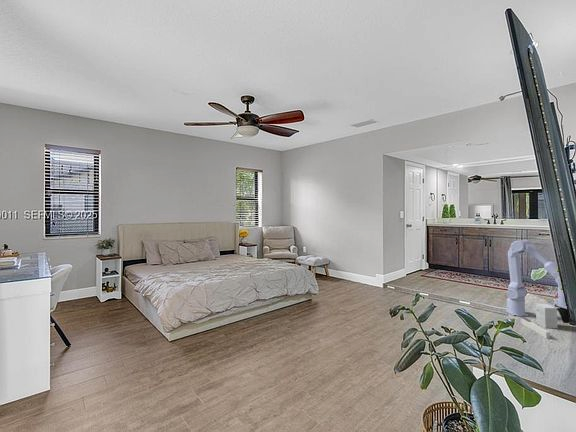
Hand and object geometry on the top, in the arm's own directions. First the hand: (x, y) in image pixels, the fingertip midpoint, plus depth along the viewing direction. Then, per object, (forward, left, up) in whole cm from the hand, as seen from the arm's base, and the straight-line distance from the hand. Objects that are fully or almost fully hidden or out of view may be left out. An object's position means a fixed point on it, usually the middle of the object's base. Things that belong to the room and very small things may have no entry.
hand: (565, 322), depth 158 cm
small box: (0, -9, -2) cm, 9 cm away
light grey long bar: (+7, -19, -2) cm, 21 cm away
